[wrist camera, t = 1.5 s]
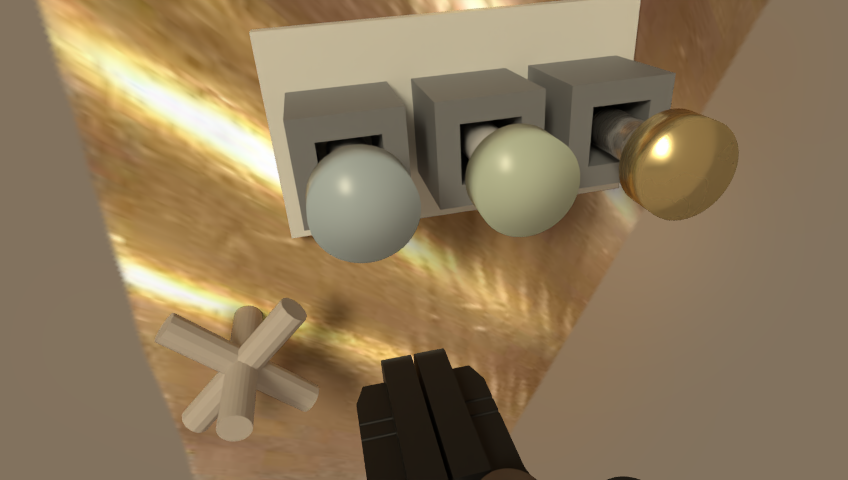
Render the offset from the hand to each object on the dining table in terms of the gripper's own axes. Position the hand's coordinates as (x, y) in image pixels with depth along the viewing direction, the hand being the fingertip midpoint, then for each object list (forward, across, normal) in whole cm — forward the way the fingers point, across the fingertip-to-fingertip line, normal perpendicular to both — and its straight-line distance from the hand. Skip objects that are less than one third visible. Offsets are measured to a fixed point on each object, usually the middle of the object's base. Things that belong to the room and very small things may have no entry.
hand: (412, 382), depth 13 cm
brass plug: (+18, -14, 0) cm, 22 cm away
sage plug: (+18, -7, 0) cm, 19 cm away
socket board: (+22, -7, 0) cm, 23 cm away
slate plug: (+18, 0, 0) cm, 18 cm away
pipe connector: (+22, +8, +12) cm, 26 cm away
